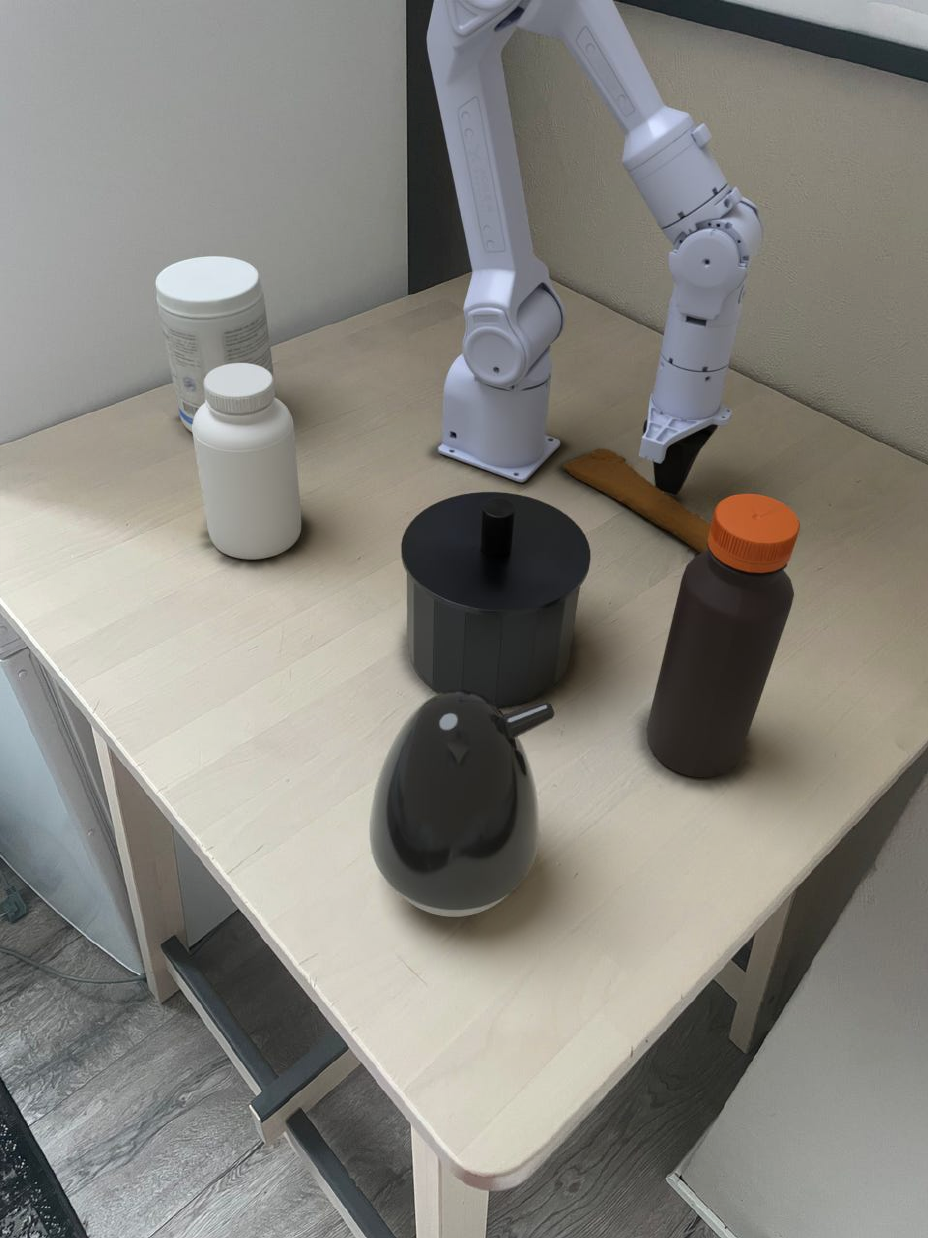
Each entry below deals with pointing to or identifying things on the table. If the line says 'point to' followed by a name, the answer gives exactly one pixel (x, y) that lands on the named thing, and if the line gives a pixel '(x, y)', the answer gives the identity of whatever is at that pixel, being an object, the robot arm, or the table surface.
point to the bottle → (723, 637)
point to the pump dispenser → (457, 804)
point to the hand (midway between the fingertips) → (667, 489)
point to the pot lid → (495, 554)
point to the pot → (489, 648)
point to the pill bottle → (247, 463)
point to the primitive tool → (639, 495)
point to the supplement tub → (210, 323)
